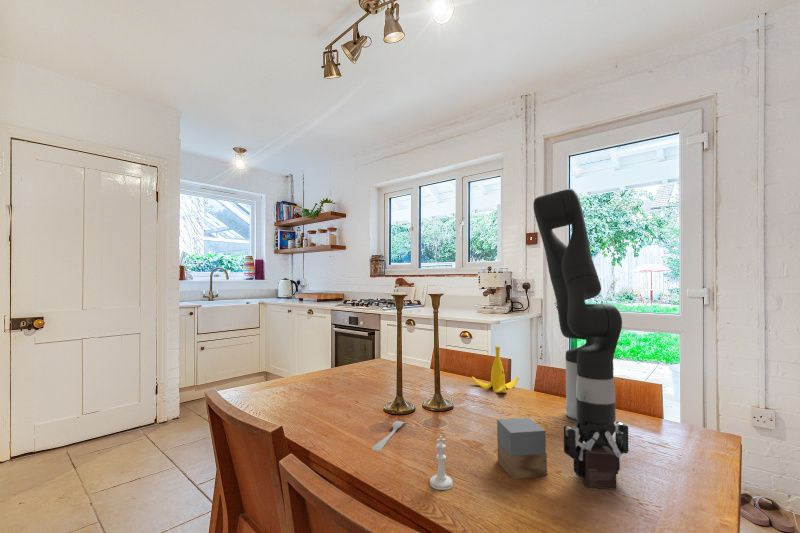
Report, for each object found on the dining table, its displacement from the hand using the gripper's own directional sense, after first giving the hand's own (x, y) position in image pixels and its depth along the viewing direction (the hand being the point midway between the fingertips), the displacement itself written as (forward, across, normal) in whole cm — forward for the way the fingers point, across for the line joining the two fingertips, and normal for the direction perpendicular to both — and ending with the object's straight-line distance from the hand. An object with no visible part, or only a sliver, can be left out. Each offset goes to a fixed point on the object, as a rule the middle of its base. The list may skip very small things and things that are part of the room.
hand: (596, 474), depth 83 cm
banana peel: (+2, -6, -70) cm, 70 cm away
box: (+2, 0, 0) cm, 2 cm away
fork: (+2, +40, -32) cm, 51 cm away
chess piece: (+2, +33, -5) cm, 33 cm away
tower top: (-3, +13, -8) cm, 16 cm away
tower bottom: (+2, +13, -8) cm, 16 cm away
